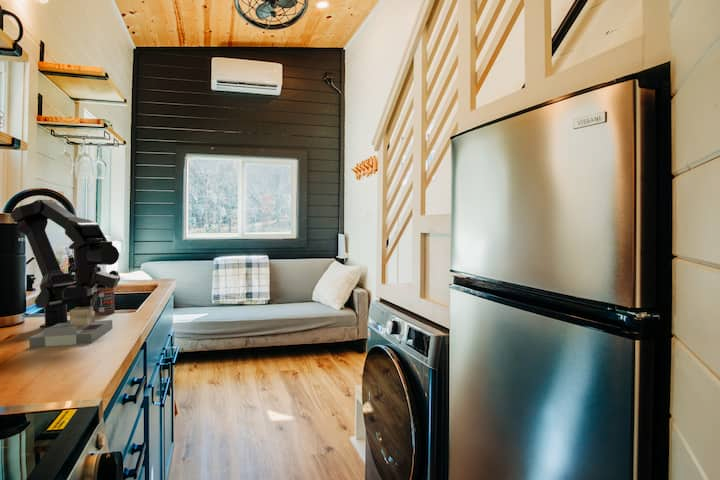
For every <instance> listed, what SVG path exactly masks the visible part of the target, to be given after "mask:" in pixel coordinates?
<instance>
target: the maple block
mask: <svg viewBox="0 0 720 480" xmlns="http://www.w3.org/2000/svg"><path fill="white" fill-rule="evenodd" d="M69 320H70V326H77V325H88V324H90V323H92V322H93V321H95V320H94V306H92V307H78V306H76V307H74V308H72V309H69Z"/></svg>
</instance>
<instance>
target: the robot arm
mask: <svg viewBox="0 0 720 480" xmlns="http://www.w3.org/2000/svg"><path fill="white" fill-rule="evenodd" d="M11 217H12V218H13V219H14V222H17V224H18V229H17V230H18V231H19V232H21V233H22V234H23V235H25V236H26V239H27V241H28V244H29V246H30V248H31V251H32V254H33V256H34V259H35V261H36V263H37V266H38V269H39V271H40V273H41V276H42V278H41V281H40V284H39V289H40V292H39V293H38V295H37V296H36V298H35V299H34V304H35V306H36V308H40V309H41V308H43V310H44V313H43V314H44V323H43V324H41V325H40V326H39V328H50V327H52V326H54V325H56V324H58V323H70V319H68V305H69V304H74V303H76V304H77V306H79V307H92V306H93V307H95V306H94V302H95V299H96V297H97V296H98V295H99V294H100V293H101V292H102V291H97V289H95V288H102V287H104V288H114V289H115V288H117V287H118V284H119V282H120V281H121V276H120V275H119V271H118V270H115V269H113V270H111V271H110V272H104V271H102V268H101V266H111V265H114V264H116V263H117V262H118V260H119V258H120V252H119V249H118V248H117V247H116V246H114V245H113V241H112V240H111V241H110V240H107V237H106V236H105V234H104V232H103V231H102V230H101V227H100V225H99V224H98V222H95V221H93V220H90V219H86V218H81V217H78V216H77V215H75V214H73V213H72V212H70V211H68V210H67V209H65V208H64V207H62V206H60V205H59V204H58V203H57V202H56V201H54V200H51V199H37V200H34V201H33V202H31V203H26V204H24V205H20V206H17V207H15V208H14V209H13V210H12V211H10V218H11ZM48 220H50V221H51V222H53V223H55V224H56V225H58V226H59V227H61V228H63V230H64V234H65V236H67V237H68V238H69V239H70V240H71V241H72V243H71V244H70V245H69V246H68V249H69V250H73V261H74V263H73V265H74V268H71V272H66V273H65V272H64V271H62V269H61V266H60V263H59V261H58V259H57V256H56V254H55V252H54V249H53V247H52V244H51V242H50V239H49V238H48V237H49V236H48V234H47V232H46V228H47V226H48ZM100 265H101V266H100ZM71 273H74V278H73V275H72V274H71Z"/></svg>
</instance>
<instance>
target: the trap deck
mask: <svg viewBox="0 0 720 480" xmlns="http://www.w3.org/2000/svg"><path fill="white" fill-rule="evenodd" d="M112 329H113V319H108V320H107V319H106V320H94V321H93V322H92V323H90V324H88V325H77V326H70V323H58V324H56V325H54V326H52V327H45V328H44V330H43V331H41V332H38V333H36V334H34V335H32V336H30V337H29V338H28V342H29V344H28V345H29V348H30V349H31V348H42V347H43V348H46V347H55V346H56V347H57V346H69V345H70V346H71V345H72V346H73V345H85V344H93V343H95V341H97V340H98V339H100V338H101V337H102V336H103V335H105V334H107V333H108V332H110V331H111V330H112Z"/></svg>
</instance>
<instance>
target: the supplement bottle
mask: <svg viewBox="0 0 720 480" xmlns="http://www.w3.org/2000/svg"><path fill="white" fill-rule="evenodd" d="M95 289H97V291H102V292H101V293H100V294H99V295H98V296H97V297H96V299H95V302H94V306H93V307H94V314H95V315H96V316H105V315H107V316H108V315H111V314H114V313H115V308H116V306H115V287H114V288H104V287H102V288H95Z"/></svg>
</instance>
